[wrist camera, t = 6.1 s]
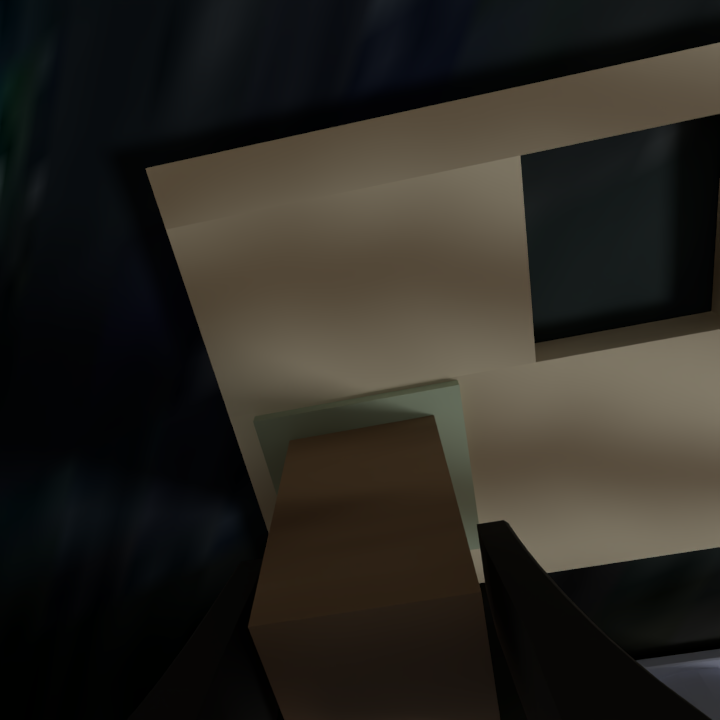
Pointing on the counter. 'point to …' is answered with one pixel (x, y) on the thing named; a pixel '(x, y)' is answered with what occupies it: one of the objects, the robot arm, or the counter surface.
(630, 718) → the robot arm
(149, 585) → the counter surface
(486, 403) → the board
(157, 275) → the counter surface
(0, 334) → the counter surface
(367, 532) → the peg
